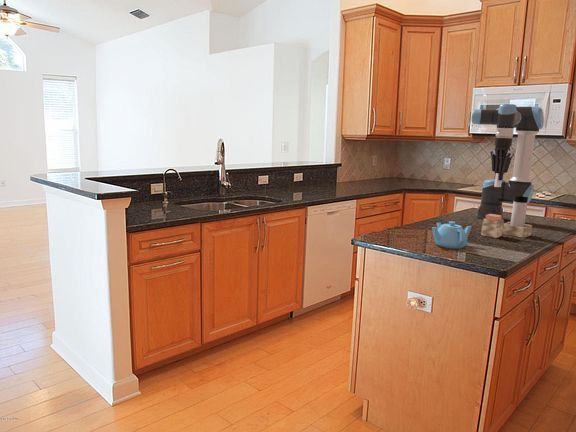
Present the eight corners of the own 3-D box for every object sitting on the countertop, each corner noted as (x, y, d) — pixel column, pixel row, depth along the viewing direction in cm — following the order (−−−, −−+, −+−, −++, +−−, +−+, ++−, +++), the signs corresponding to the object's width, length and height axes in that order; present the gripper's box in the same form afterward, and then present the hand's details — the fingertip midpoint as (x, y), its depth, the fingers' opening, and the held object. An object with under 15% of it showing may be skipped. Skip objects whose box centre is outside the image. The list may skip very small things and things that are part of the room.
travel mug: (508, 234, 233) (514, 195, 229) (509, 232, 239) (514, 193, 235) (522, 236, 230) (528, 196, 226) (522, 234, 236) (528, 195, 232)
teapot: (428, 246, 204) (430, 222, 202) (435, 239, 217) (437, 216, 215) (464, 251, 197) (467, 227, 195) (469, 244, 210) (472, 221, 208)
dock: (480, 235, 230) (482, 219, 228) (497, 229, 245) (499, 214, 244) (515, 241, 218) (517, 225, 217) (530, 235, 234) (533, 219, 233)
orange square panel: (485, 220, 228) (485, 215, 228) (489, 219, 232) (490, 213, 232) (496, 222, 224) (497, 216, 224) (501, 221, 228) (501, 215, 228)
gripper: (487, 136, 225) (481, 185, 230) (507, 137, 213) (501, 188, 218) (500, 137, 228) (494, 185, 232) (520, 138, 215) (513, 188, 220)
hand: (497, 186), depth 225 cm, fingers closed
